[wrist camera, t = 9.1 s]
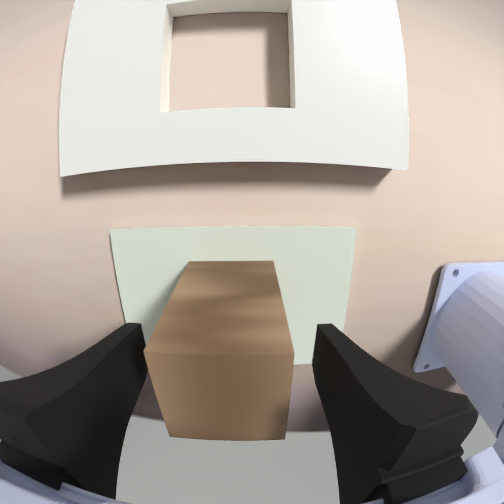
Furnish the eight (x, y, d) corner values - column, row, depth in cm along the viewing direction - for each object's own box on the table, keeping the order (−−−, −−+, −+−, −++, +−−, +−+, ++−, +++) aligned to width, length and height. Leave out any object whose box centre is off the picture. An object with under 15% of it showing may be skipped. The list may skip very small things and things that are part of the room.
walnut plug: (273, 260, 14) (294, 353, 7) (271, 331, 15) (285, 439, 8) (188, 261, 14) (143, 351, 7) (196, 331, 15) (169, 436, 8)
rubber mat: (353, 226, 14) (356, 228, 13) (335, 357, 16) (337, 361, 16) (113, 228, 14) (109, 230, 13) (137, 356, 16) (135, 360, 16)
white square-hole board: (381, -2, 10) (392, -14, 8) (393, 168, 13) (408, 170, 11) (87, 7, 9) (75, -2, 8) (76, 173, 13) (60, 176, 11)
